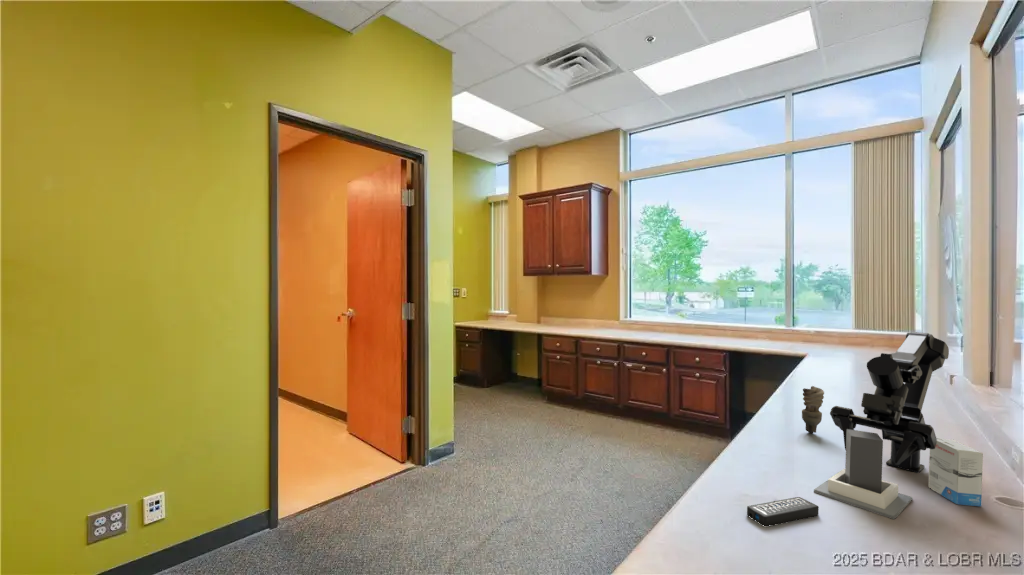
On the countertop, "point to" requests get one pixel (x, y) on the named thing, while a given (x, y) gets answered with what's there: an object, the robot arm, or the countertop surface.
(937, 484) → the ink box
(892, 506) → the socket board
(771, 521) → the multiport hub
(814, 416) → the light bulb
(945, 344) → the robot arm
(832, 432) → the countertop surface
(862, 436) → the plug
